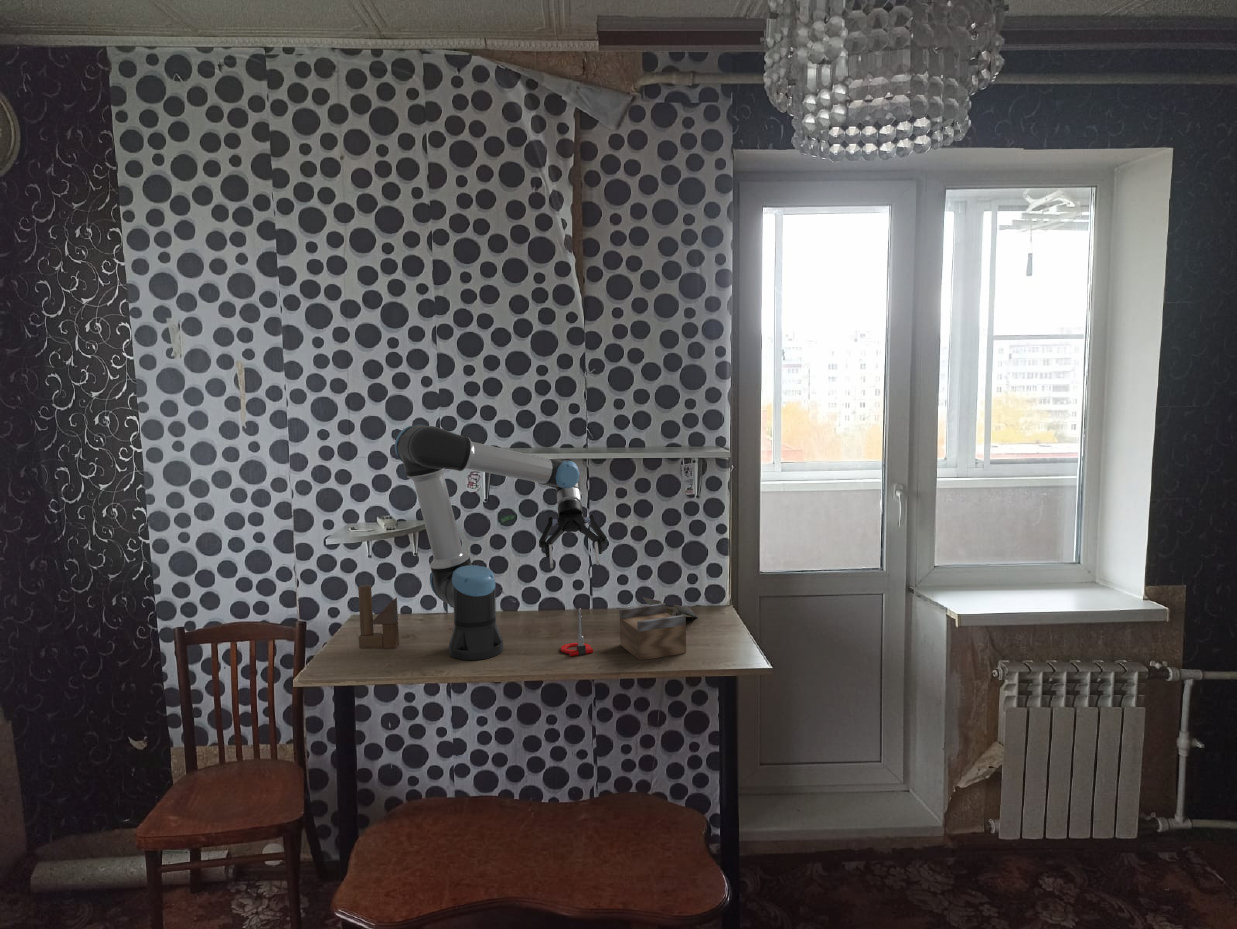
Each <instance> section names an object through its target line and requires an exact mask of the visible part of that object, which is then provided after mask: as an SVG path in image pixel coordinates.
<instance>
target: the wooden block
mask: <svg viewBox="0 0 1237 929" xmlns="http://www.w3.org/2000/svg"><path fill="white" fill-rule="evenodd" d="M357 590H358V591H357V592H358V609H359V624H360V625H359V626H360V628H359V629H360V635H358V647H359V649H396V648H397V647H399V645H400V636H399V633H400V632H399V615H398V614H399V613H398V612H399V611H398V597H395V598H394V599H392V600H391V601H390V602H389V603H388V604H387V605H386V606H385V607H384V609H382V611H381V612H380V613H378V615H377V616H376V617H375V618H374V615H373V614H374V613H373V596H372V595H373V593H372V585H371V584H361V585H359V586H358V587H357ZM374 625H381V626H382V632H374Z"/></svg>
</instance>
